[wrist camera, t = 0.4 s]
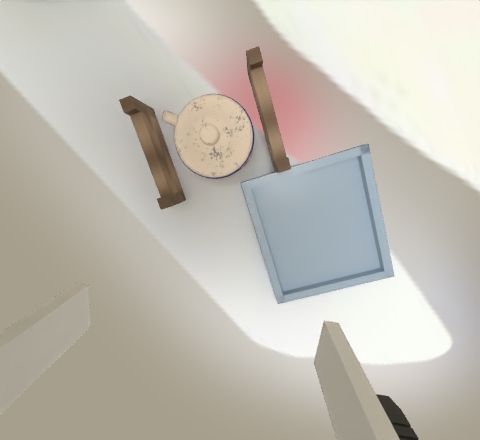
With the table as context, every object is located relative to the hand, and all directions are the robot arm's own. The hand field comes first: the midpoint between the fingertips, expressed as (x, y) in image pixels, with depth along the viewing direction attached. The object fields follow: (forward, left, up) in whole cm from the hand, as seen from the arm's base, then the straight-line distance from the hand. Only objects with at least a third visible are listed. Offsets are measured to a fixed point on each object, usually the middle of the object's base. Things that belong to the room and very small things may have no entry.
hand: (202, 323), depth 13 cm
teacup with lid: (-13, +1, -25) cm, 28 cm away
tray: (+4, +12, -25) cm, 28 cm away
